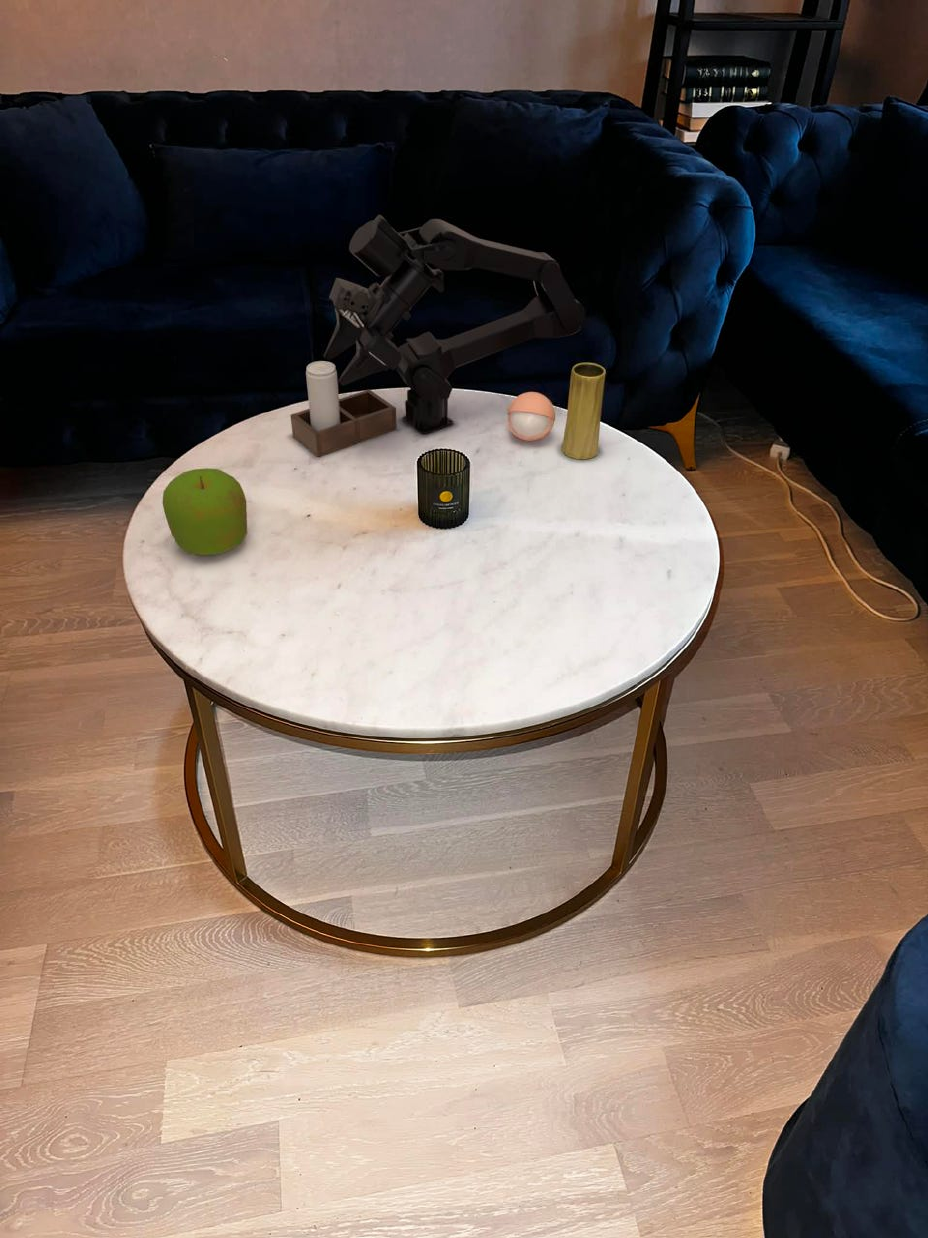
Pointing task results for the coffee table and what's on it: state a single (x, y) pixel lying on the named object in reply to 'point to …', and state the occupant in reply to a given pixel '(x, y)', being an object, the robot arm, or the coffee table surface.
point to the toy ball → (531, 416)
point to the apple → (206, 511)
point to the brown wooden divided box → (346, 424)
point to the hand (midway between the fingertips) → (333, 370)
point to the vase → (584, 411)
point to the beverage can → (323, 395)
